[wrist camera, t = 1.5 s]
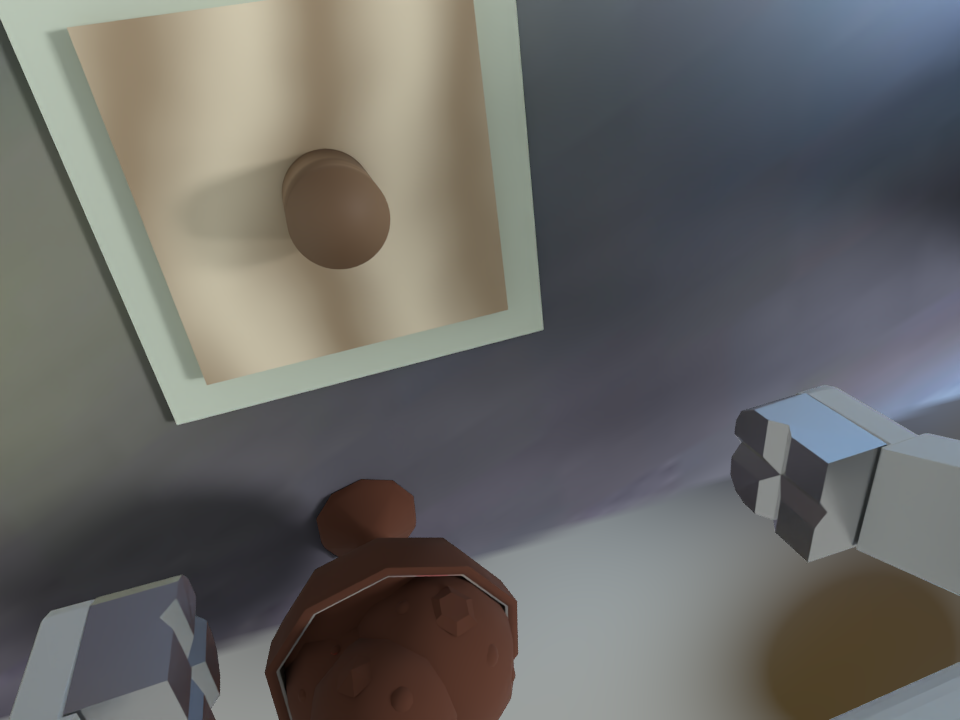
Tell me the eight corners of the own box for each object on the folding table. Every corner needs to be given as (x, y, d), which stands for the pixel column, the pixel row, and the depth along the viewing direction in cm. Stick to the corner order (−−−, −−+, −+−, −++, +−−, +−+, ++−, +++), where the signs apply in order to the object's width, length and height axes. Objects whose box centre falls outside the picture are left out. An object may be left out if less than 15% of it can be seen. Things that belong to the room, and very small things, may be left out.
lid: (464, -27, 25) (505, -36, 21) (502, 303, 32) (539, 345, 28) (72, 27, 22) (31, 28, 18) (208, 376, 29) (200, 435, 25)
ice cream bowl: (287, 615, 37) (305, 924, 24) (246, 458, 32) (241, 748, 19) (465, 568, 40) (565, 826, 27) (454, 415, 34) (572, 646, 22)
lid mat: (504, -94, 25) (508, -96, 24) (540, 326, 34) (543, 329, 33) (-19, -33, 21) (-23, -34, 21) (178, 420, 30) (177, 425, 30)
